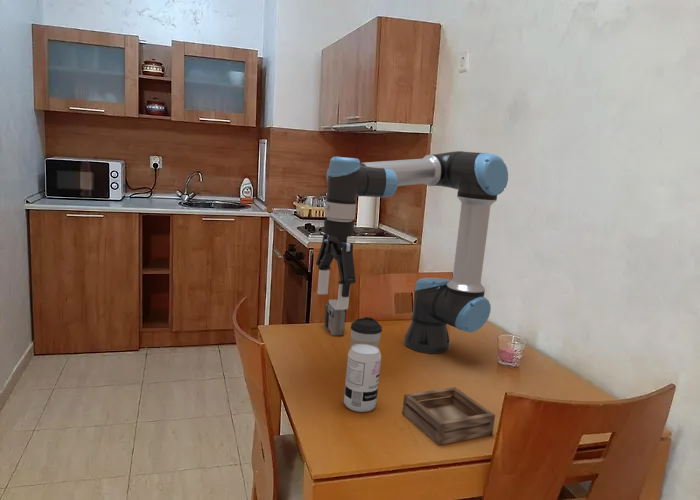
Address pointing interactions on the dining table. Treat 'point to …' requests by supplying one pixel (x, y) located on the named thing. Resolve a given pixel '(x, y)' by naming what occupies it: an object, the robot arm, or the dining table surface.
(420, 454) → the dining table surface
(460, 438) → the crate
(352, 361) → the supplement can
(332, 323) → the camera
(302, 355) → the dining table surface
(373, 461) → the dining table surface
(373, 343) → the coffee cup
